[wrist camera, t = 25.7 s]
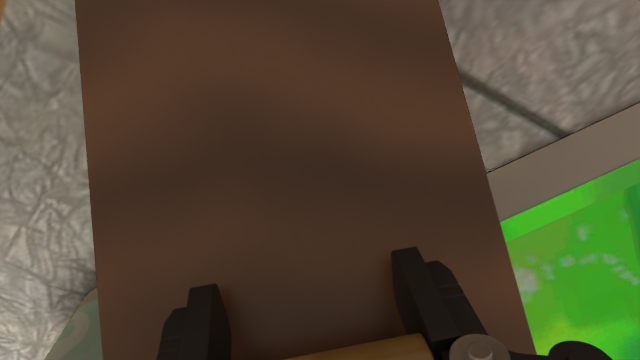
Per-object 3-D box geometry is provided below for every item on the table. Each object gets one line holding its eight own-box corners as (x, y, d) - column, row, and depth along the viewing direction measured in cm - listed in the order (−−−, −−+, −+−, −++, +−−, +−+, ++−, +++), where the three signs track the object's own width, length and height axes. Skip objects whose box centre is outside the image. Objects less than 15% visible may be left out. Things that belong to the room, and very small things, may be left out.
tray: (470, 432, 45) (494, 487, 41) (366, 229, 34) (383, 275, 29) (737, 321, 43) (794, 366, 39) (723, 63, 32) (800, 85, 27)
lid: (544, 413, 15) (646, 462, 10) (124, 501, 14) (31, 595, 10) (417, -47, 19) (449, -162, 14) (83, 6, 18) (3, -96, 14)
